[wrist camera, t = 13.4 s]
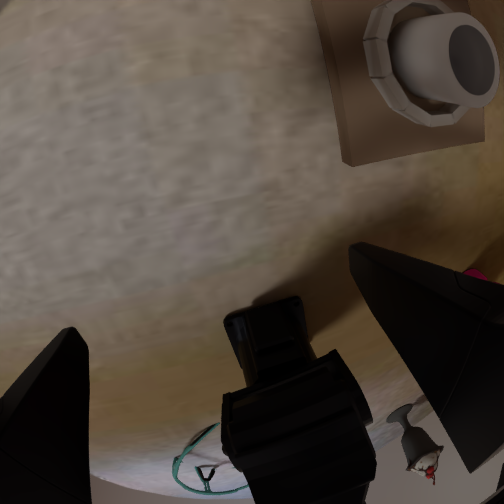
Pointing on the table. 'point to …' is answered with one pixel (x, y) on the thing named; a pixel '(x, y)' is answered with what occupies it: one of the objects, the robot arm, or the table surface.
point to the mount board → (366, 103)
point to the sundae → (417, 445)
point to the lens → (445, 59)
